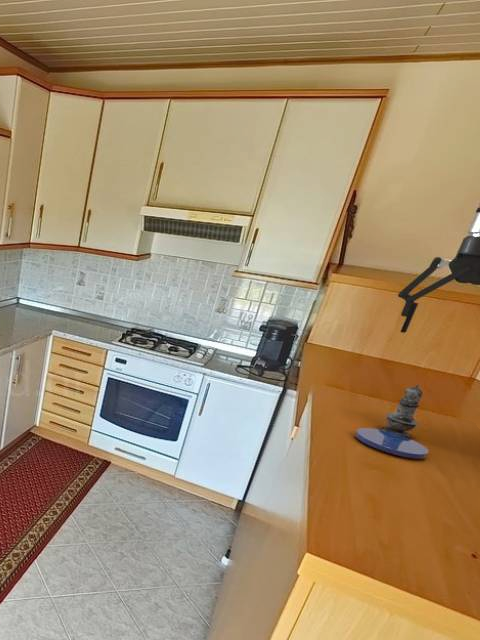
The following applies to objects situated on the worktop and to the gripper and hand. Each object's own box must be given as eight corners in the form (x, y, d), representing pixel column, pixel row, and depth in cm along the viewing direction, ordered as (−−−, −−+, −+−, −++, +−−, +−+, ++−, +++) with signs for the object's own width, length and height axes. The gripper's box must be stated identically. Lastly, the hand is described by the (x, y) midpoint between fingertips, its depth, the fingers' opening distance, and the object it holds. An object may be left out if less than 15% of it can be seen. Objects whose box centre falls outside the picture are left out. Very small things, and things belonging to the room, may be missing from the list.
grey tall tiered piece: (393, 427, 115) (414, 380, 111) (418, 438, 110) (442, 389, 106) (373, 426, 114) (394, 379, 110) (397, 438, 109) (420, 388, 105)
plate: (441, 462, 98) (444, 456, 98) (386, 458, 97) (389, 452, 97) (390, 436, 110) (393, 430, 109) (340, 432, 109) (343, 426, 108)
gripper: (408, 229, 103) (369, 327, 110) (587, 244, 86) (527, 358, 93) (412, 231, 108) (375, 324, 115) (583, 246, 91) (526, 354, 98)
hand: (443, 340), depth 104 cm, fingers open, 13 cm apart
